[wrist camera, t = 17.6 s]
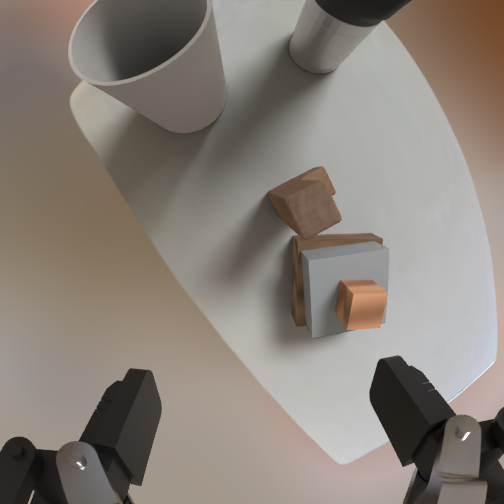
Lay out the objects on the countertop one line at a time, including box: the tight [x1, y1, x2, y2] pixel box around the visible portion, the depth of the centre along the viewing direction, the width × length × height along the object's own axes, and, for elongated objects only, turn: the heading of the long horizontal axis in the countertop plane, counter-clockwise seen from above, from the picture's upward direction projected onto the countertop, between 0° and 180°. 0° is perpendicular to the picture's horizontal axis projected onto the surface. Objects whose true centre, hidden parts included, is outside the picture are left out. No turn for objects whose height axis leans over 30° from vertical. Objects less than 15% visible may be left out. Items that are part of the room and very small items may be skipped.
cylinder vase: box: [68, 0, 227, 133], centre depth 26 cm, size 12×12×25 cm
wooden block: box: [267, 167, 341, 240], centre depth 34 cm, size 9×4×18 cm, turn 119°
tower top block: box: [301, 241, 389, 338], centre depth 39 cm, size 12×12×5 cm
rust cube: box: [335, 280, 388, 330], centre depth 35 cm, size 5×5×5 cm
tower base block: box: [292, 233, 383, 326], centre depth 44 cm, size 14×14×5 cm
